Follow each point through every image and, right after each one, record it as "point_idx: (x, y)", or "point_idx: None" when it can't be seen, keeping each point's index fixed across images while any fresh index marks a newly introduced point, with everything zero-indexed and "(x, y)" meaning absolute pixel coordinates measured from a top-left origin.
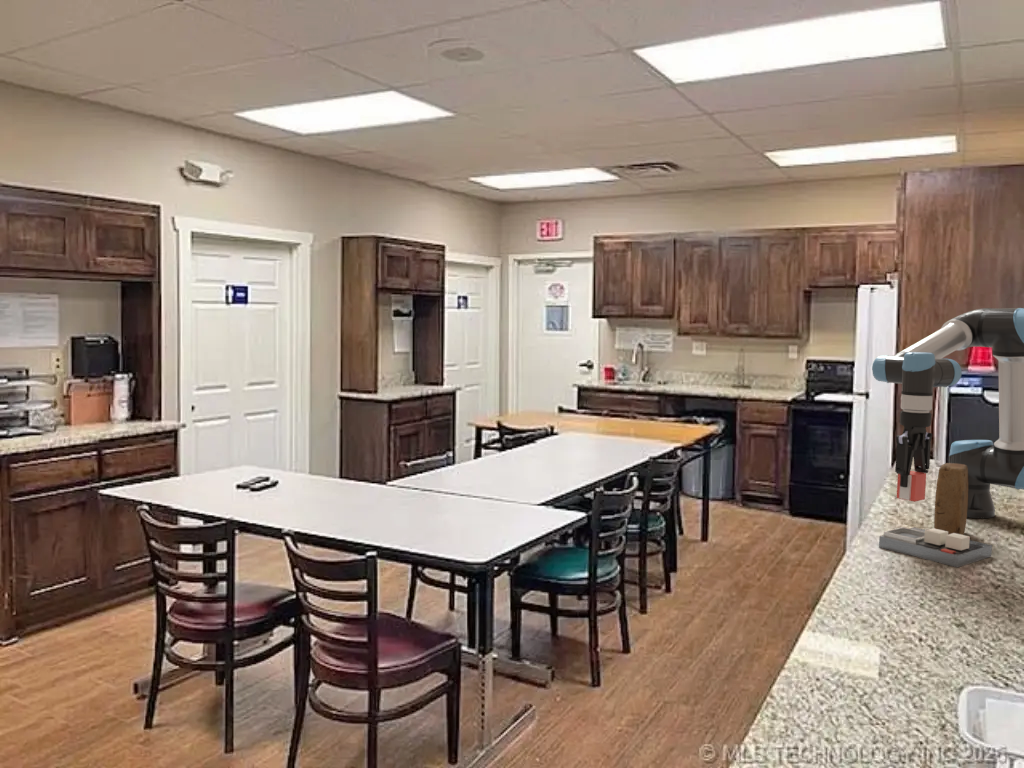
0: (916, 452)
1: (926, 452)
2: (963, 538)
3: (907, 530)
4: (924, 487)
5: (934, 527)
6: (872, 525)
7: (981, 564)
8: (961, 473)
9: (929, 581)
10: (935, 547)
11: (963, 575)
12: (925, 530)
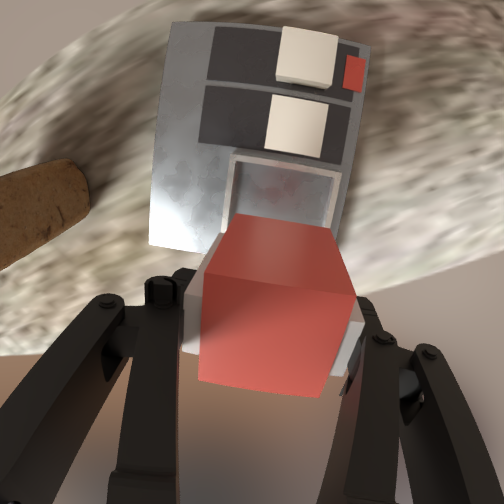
0: (177, 463)
1: (65, 401)
2: (325, 33)
3: None
4: (235, 235)
5: (83, 218)
6: None
7: (281, 18)
8: None
9: (499, 90)
10: (343, 112)
11: (414, 32)
12: (319, 156)
